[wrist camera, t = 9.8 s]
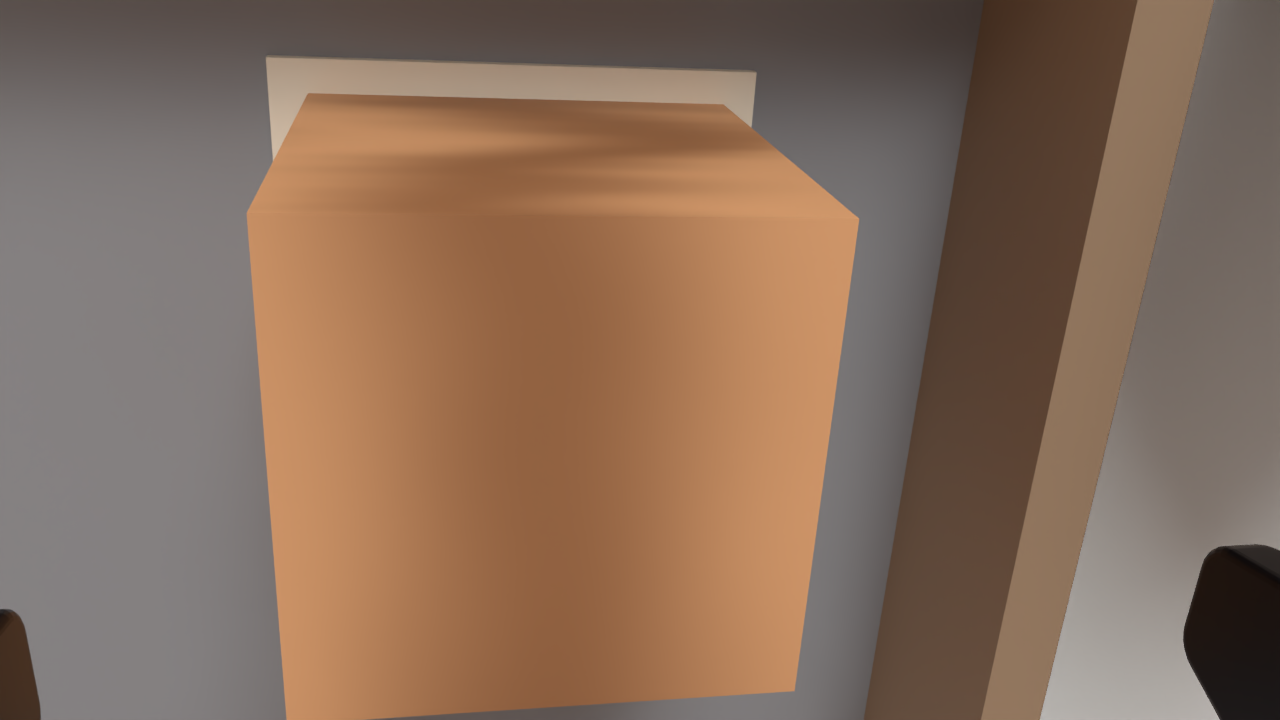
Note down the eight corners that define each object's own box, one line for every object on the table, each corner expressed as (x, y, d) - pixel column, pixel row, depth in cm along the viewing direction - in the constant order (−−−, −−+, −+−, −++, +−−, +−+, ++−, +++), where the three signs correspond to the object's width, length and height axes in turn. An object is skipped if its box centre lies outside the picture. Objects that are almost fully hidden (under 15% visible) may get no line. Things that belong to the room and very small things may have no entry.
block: (722, 104, 17) (859, 218, 12) (692, 459, 20) (794, 690, 14) (307, 93, 16) (246, 213, 11) (328, 469, 18) (287, 725, 13)
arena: (1056, -239, 17) (1280, -273, 13) (886, 720, 24) (991, 917, 20) (-303, -353, 14) (-650, -451, 10) (-43, 787, 21) (-171, 1040, 17)
